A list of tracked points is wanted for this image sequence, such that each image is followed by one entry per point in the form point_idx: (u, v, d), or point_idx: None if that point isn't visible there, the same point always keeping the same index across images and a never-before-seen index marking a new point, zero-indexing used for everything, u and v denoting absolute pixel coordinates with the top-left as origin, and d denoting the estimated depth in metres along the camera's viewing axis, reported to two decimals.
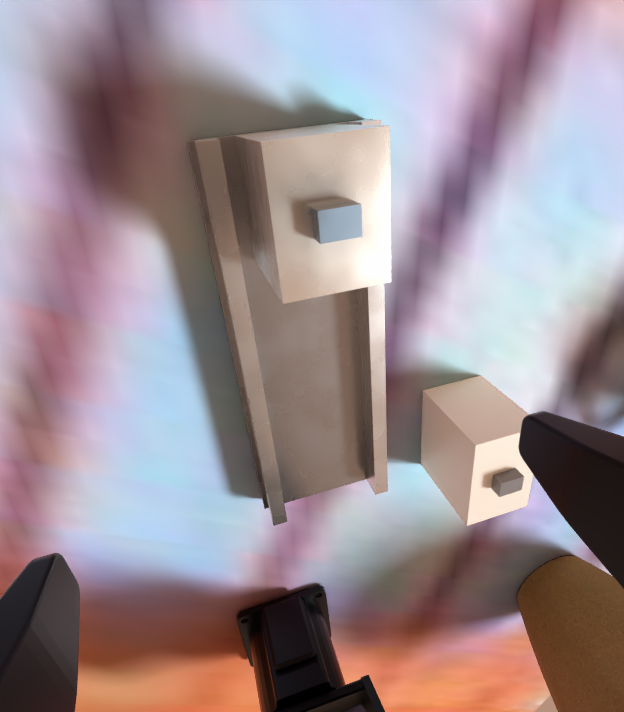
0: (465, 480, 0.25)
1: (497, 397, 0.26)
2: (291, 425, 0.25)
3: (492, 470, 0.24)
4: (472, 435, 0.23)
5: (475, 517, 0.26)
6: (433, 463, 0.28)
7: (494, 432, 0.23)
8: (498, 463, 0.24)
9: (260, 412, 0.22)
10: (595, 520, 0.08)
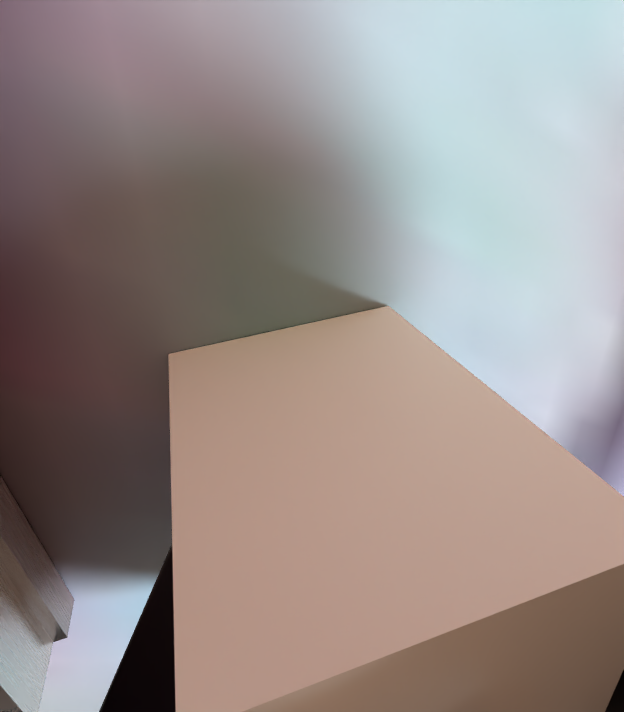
0: None
1: (431, 375, 0.06)
2: None
3: None
4: (212, 614, 0.03)
5: None
6: None
7: (361, 590, 0.04)
8: None
9: None
10: None
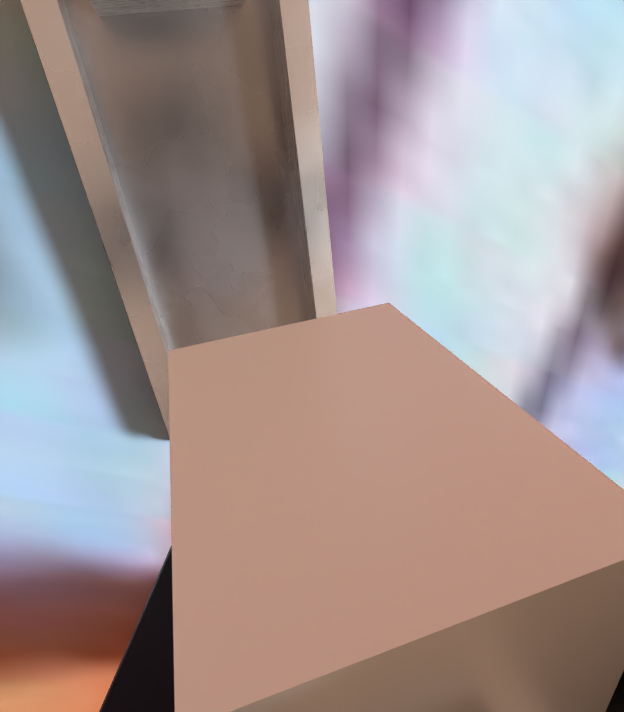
0: None
1: (431, 371, 0.06)
2: (199, 322, 0.17)
3: None
4: (211, 610, 0.03)
5: None
6: None
7: (360, 585, 0.04)
8: None
9: (132, 285, 0.14)
10: None
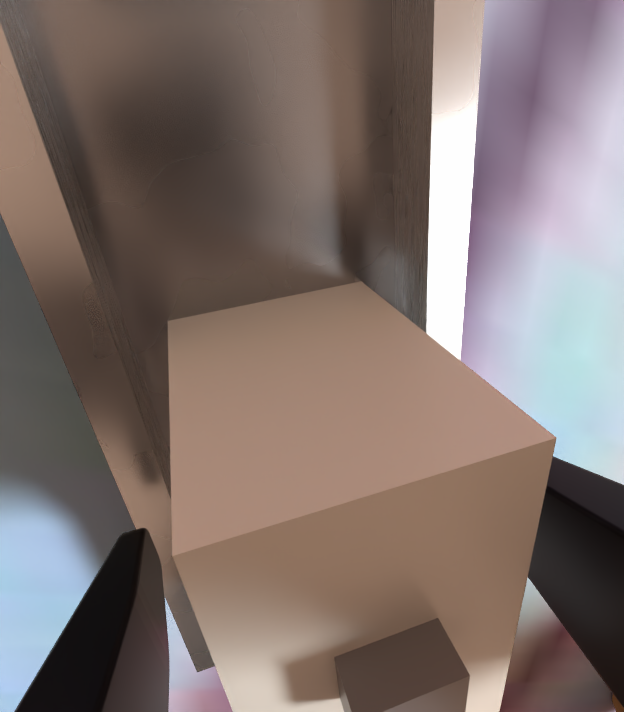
0: None
1: (389, 332, 0.07)
2: None
3: (323, 644, 0.05)
4: (200, 490, 0.05)
5: None
6: None
7: (312, 472, 0.05)
8: (348, 613, 0.05)
9: (119, 421, 0.08)
10: None
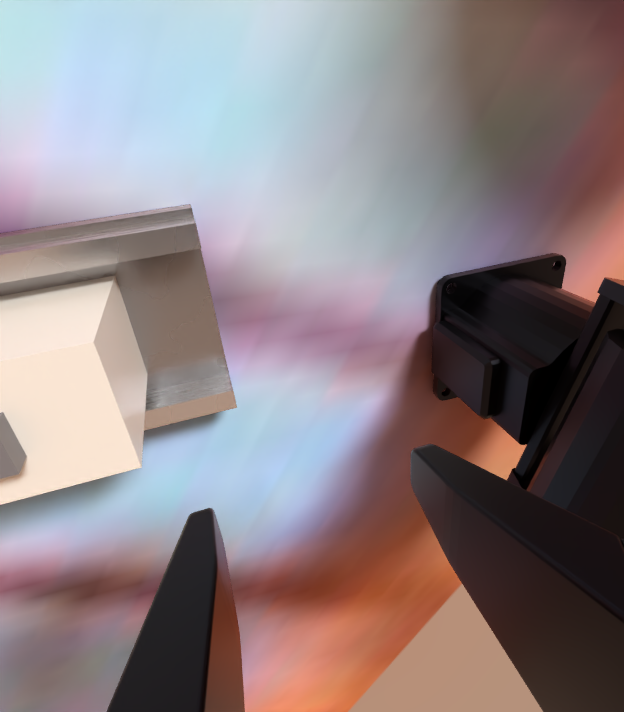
0: None
1: None
2: None
3: None
4: None
5: (118, 457, 0.12)
6: None
7: None
8: None
9: None
10: (469, 565, 0.07)
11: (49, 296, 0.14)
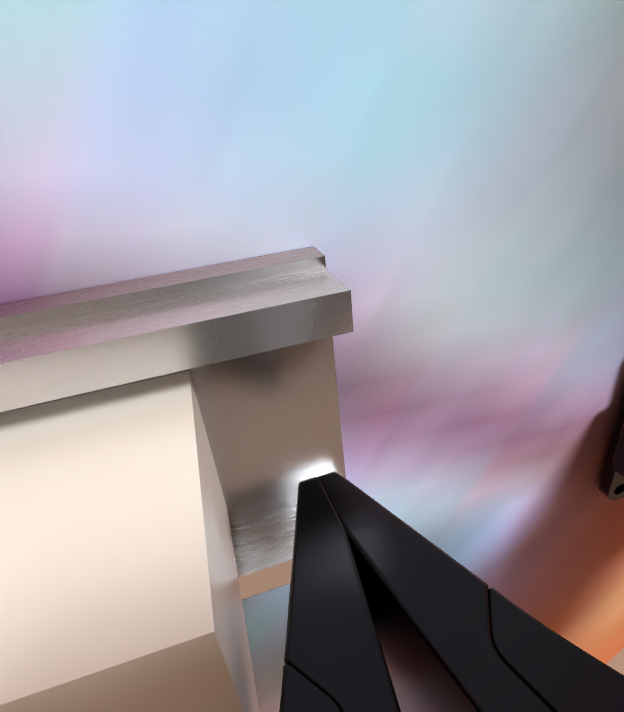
0: None
1: None
2: None
3: None
4: None
5: None
6: None
7: None
8: None
9: None
10: None
11: (83, 423, 0.08)
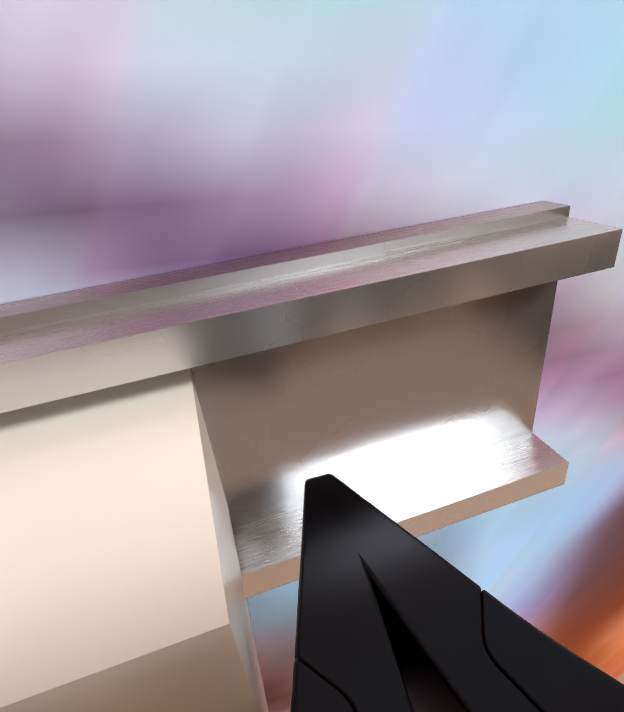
0: None
1: None
2: (354, 451, 0.11)
3: None
4: None
5: None
6: None
7: None
8: None
9: (290, 569, 0.11)
10: None
11: (84, 421, 0.08)
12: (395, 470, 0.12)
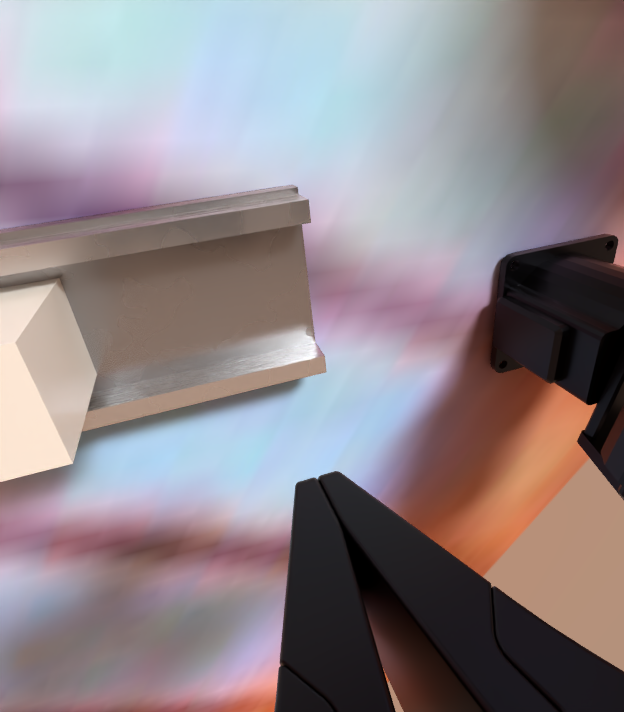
0: None
1: None
2: (180, 343, 0.18)
3: None
4: None
5: (48, 454, 0.13)
6: None
7: None
8: None
9: (131, 409, 0.17)
10: None
11: None
12: (213, 360, 0.19)
